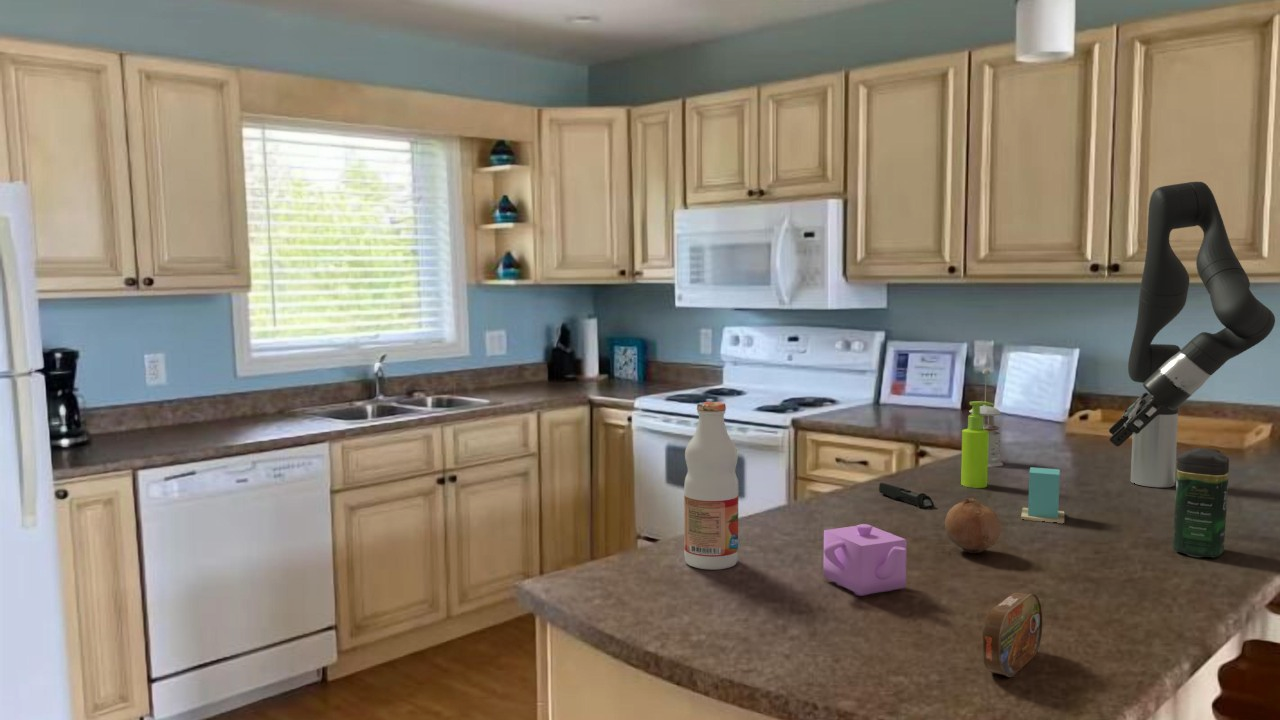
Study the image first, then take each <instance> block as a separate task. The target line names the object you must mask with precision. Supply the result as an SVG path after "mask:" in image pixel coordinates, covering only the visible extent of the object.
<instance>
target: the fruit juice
mask: <svg viewBox="0 0 1280 720" xmlns="http://www.w3.org/2000/svg"><path fill="white" fill-rule="evenodd" d="M726 407H727V406H726V403H724V402H719V401H704V402H703V401H702V402H699V403H697V406H696V410H697V412H696V413H697V414H698V422H697V426H696V430H695V433H694V435H693V436H692V438H691V439H690V440H689V442H688V443H687V445H686V447H685V451H684V458H685V459H684V460H685V464H686V466H687V472H686V475H685V478H684V486H683V487H684V488H683V497H684V499H683V502H684V503H683V504H684V505H683V507H684V508H683V509H684V510H683V512H684V513H683V518H684V519H683V520H684V521H683V524H684V525H683V526H684V527H683V533H684V534H683V535H684V536H683V537H684V541H683V543H684V545H683V548H684V551H683V552H684V553H683V554H684V560H685V563H686V564H687V565H688V566H690V567H693V568H696V569H701V570H711V571H713V570H725V569H728V568H732V567H734V566H735V565H736V564H738V559H739V480H738V477H737V474H736V467H737V464H738V457H739V456H738V455H739V453H738V447H737V446H736V444H735V443H734V441H733V440H732V439H731V437H730V435H729V434H728V433H729V432H728V430H727V428H726V423H725V418H724V417H725V414H726V411H727V410H726V409H727V408H726Z"/></svg>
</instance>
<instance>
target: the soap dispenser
mask: <svg viewBox="0 0 1280 720" xmlns="http://www.w3.org/2000/svg"><path fill="white" fill-rule="evenodd" d="M969 405H970V406H971V407H972V408H971V409H972V414H971V413H970V414H969V415H968V417H967V428H964V429H962V431H961V432H962V433H961V467H960V469H961V470H960V485H961V486H962V485H963V486H962V487H966V488H971V487H972V488H974V489H983V488H986V487H988V474H989V473H988V472H989V471H988V470H989V469H988V468H989V467H988V442H989V431H987V430H984V429H983V424H984V420H983V419H984V416H982V415H980V406H983V405H987V406H990V407H994V406H995V403H993V402H990V401H986V402H985V400H984V401H983V400H980V401H978V400H977V401H969Z"/></svg>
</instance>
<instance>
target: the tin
mask: <svg viewBox="0 0 1280 720" xmlns="http://www.w3.org/2000/svg"><path fill="white" fill-rule="evenodd" d="M1042 633H1043V610H1042V605H1041V600H1040V599H1039V597H1038V595H1036V594H1035V593H1023V592H1017V591H1016V592H1013V593H1011V594H1009V595H1008V596H1007V597H1005V598H1004V599H1003V600H1001V601H1000V602H999V603H998V604H996V605H995V606H994V607H992V608H991V609H990V610H989V611H988V612H987V615H986V616H985V619H984V622H983V625H982V631H981V638H982V655H983V657H982V658H983V660H982V661H983V665H984V666H985V669H986V670H987V671H989V672H990V673H992V674H997V675H1001V676H1005V677H1007V678H1012V677H1014V676H1016V674H1017V673H1018V672H1019V671H1021V669H1023V668H1024V667H1025V666H1026V665H1027V664H1028V663H1029V662H1030V661H1032V660H1033V659H1034V657H1035V656H1036V654H1037V652H1038V650H1039V648H1040V644H1041V639H1042V635H1043V634H1042Z"/></svg>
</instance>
